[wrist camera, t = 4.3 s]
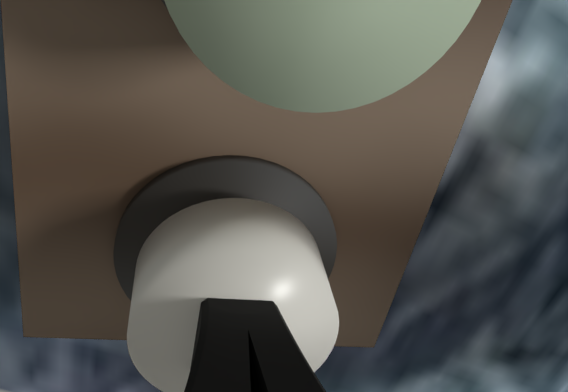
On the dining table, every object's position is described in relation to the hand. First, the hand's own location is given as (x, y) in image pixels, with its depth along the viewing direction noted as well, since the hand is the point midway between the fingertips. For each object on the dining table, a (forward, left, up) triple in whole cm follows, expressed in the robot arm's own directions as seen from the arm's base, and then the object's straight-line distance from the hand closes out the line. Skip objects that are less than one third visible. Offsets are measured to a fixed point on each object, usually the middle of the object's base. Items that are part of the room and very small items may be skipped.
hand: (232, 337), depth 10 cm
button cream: (0, 0, -2) cm, 2 cm away
